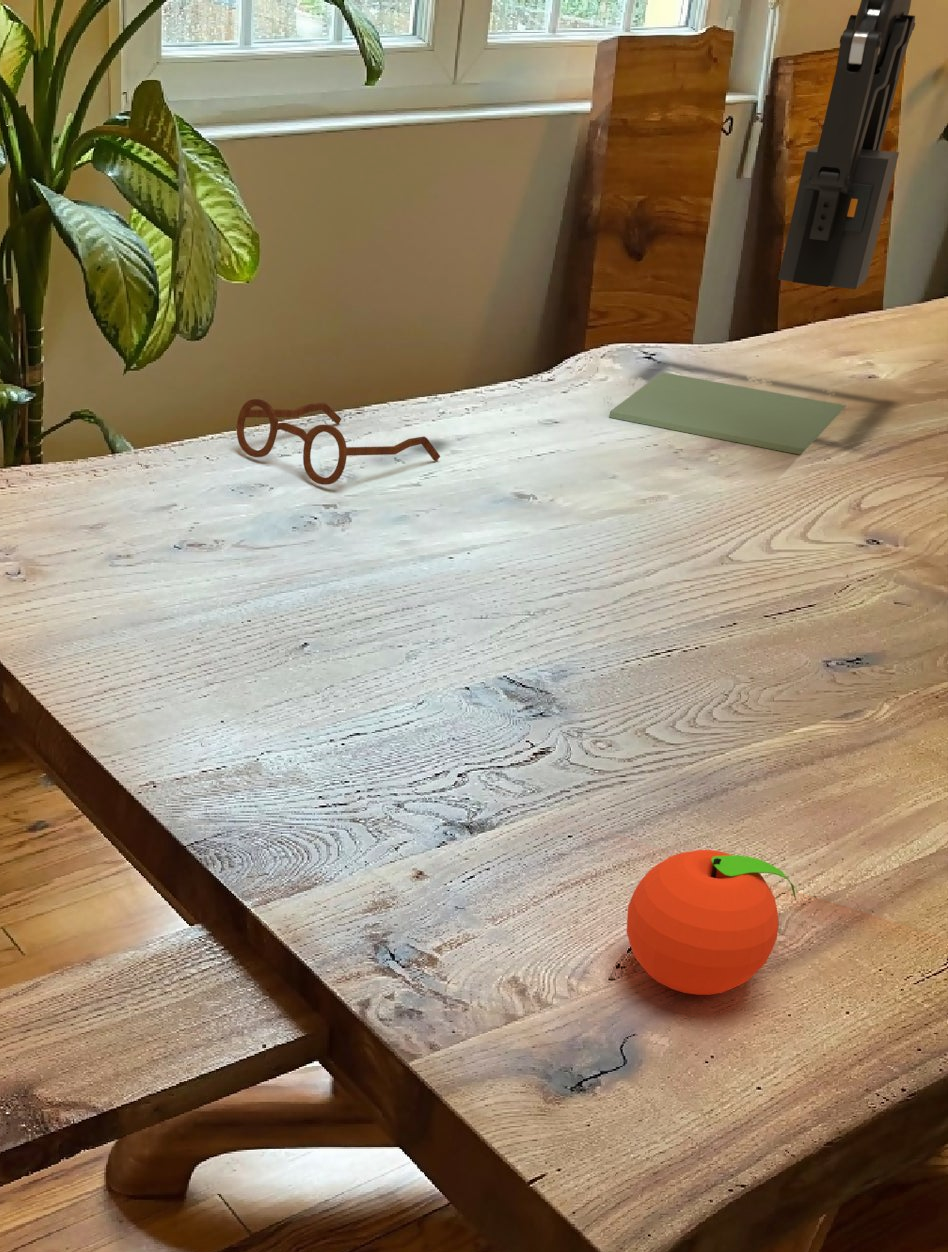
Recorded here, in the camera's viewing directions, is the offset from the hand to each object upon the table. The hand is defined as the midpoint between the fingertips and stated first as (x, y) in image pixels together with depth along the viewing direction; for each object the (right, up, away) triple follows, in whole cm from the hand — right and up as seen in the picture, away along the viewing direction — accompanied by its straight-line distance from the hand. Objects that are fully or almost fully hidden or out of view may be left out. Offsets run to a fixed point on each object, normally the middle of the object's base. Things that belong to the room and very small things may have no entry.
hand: (819, 276), depth 116 cm
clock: (0, 0, 0) cm, 0 cm away
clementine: (-24, -55, -44) cm, 75 cm away
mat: (+3, -3, +24) cm, 24 cm away
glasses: (-37, -10, +13) cm, 41 cm away
